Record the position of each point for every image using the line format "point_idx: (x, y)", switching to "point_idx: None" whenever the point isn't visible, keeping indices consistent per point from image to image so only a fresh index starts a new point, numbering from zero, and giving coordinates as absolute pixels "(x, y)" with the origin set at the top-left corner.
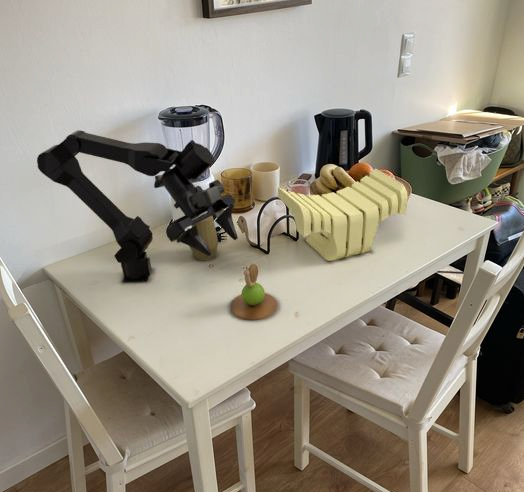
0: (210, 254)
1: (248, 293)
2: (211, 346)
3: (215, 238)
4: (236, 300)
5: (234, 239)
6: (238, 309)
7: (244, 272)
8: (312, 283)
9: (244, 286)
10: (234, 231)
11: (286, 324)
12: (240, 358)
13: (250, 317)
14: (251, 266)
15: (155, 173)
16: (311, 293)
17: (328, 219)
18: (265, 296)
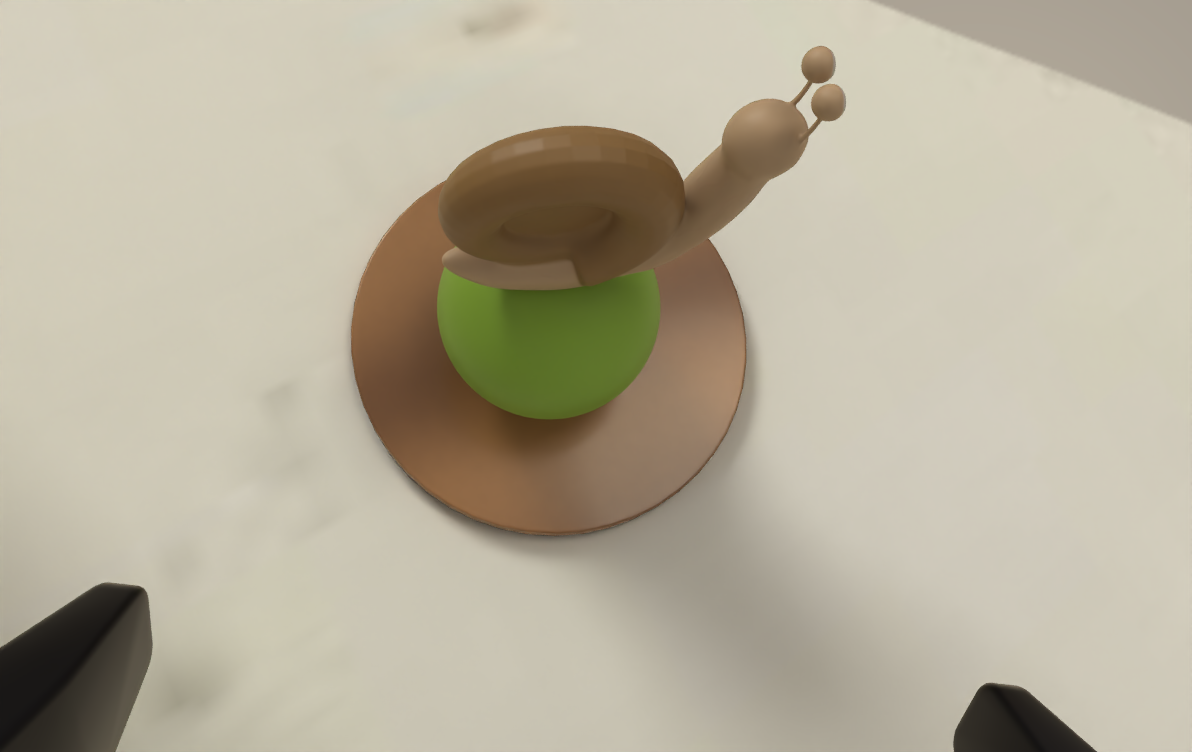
0: (1016, 686)
1: (652, 283)
2: (1097, 370)
3: None
4: (569, 501)
5: (141, 664)
6: (676, 411)
7: (804, 138)
8: (3, 58)
9: (583, 363)
10: (5, 688)
11: (635, 40)
12: (1071, 151)
13: (719, 273)
14: (608, 142)
15: None
16: (169, 17)
17: None
18: (399, 302)
